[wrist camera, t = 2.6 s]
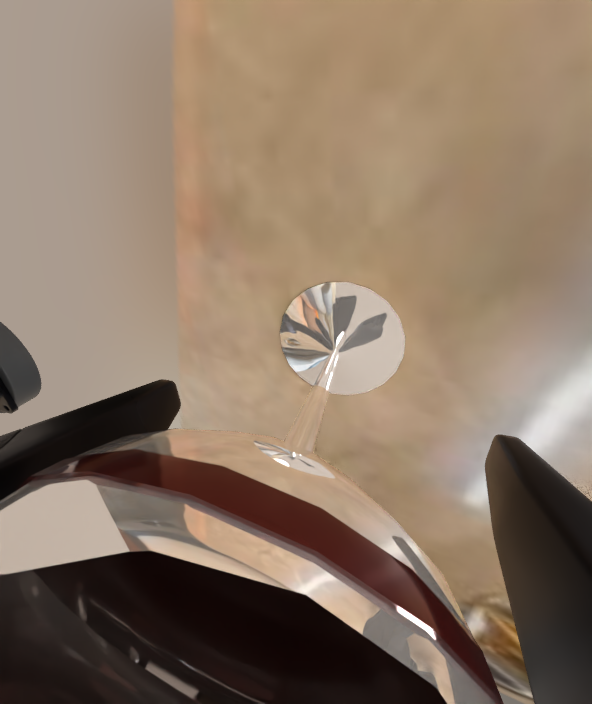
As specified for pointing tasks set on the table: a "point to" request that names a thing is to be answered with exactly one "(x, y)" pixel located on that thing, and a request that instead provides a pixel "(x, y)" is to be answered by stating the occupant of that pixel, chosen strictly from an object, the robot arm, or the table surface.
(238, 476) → the wineglass
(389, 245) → the table surface
